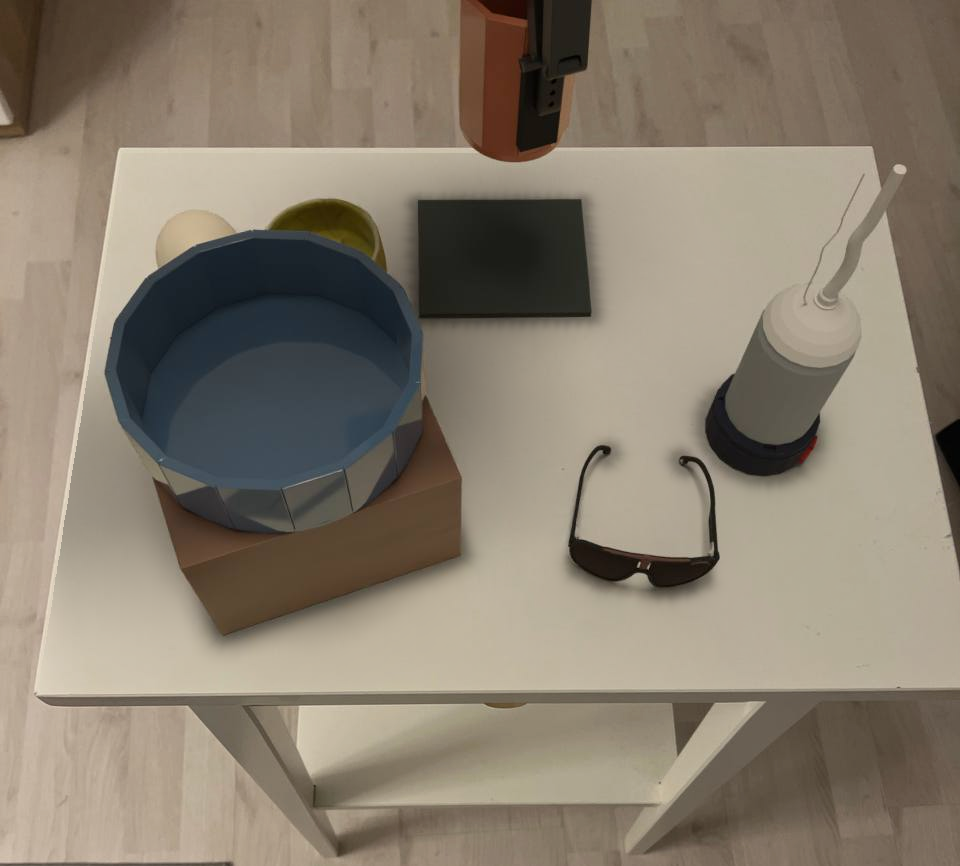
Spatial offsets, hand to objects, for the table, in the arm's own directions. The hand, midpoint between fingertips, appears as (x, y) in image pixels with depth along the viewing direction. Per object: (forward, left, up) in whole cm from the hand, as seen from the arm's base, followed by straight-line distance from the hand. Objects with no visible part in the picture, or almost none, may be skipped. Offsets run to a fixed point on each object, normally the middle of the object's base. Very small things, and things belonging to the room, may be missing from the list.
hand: (513, 100), depth 66 cm
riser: (+15, -22, -15) cm, 31 cm away
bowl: (+15, -22, -4) cm, 27 cm away
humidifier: (+22, +12, -15) cm, 30 cm away
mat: (0, 0, -15) cm, 15 cm away
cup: (0, 0, -2) cm, 2 cm away
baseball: (-6, -24, -15) cm, 29 cm away
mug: (0, -17, -15) cm, 22 cm away
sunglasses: (+26, 0, -15) cm, 31 cm away
